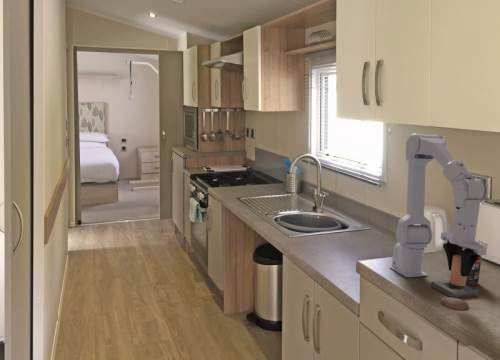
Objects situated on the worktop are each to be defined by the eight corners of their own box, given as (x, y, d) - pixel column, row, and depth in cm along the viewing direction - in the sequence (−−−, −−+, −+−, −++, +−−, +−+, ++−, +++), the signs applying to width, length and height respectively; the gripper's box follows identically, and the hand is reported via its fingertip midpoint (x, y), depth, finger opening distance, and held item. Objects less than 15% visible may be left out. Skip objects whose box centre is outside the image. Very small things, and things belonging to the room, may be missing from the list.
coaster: (435, 300, 138) (435, 298, 138) (455, 298, 140) (455, 296, 140) (453, 310, 132) (453, 309, 132) (474, 308, 134) (474, 306, 134)
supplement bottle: (460, 277, 158) (464, 242, 156) (480, 282, 154) (485, 247, 152) (454, 282, 153) (458, 246, 151) (474, 287, 150) (479, 251, 148)
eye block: (431, 286, 148) (431, 281, 148) (455, 284, 152) (456, 279, 151) (452, 298, 140) (453, 293, 140) (478, 295, 143) (478, 290, 143)
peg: (446, 281, 136) (449, 254, 135) (457, 279, 138) (461, 253, 136) (457, 286, 133) (460, 259, 131) (468, 285, 134) (472, 258, 133)
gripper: (434, 217, 138) (428, 264, 140) (473, 231, 124) (466, 283, 126) (454, 216, 140) (448, 263, 142) (495, 230, 127) (488, 281, 129)
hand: (458, 272), depth 135 cm, fingers closed on peg, 4 cm apart
